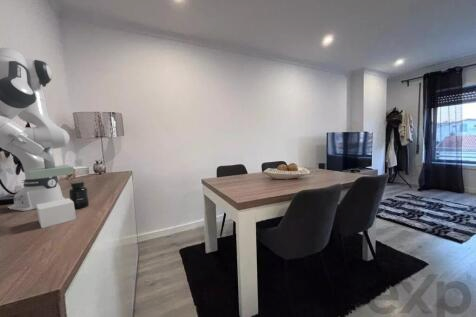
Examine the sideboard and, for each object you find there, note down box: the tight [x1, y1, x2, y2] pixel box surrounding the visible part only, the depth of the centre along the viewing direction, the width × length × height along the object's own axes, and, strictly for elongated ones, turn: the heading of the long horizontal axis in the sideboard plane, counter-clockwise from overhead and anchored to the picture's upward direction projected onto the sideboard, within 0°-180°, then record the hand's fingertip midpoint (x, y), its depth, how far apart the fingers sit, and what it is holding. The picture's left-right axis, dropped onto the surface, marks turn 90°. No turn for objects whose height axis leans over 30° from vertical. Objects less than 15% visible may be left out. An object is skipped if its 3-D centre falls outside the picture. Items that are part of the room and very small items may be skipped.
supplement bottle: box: [68, 181, 90, 210], centre depth 96 cm, size 7×7×12 cm
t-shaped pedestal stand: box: [27, 142, 75, 179], centre depth 78 cm, size 12×12×13 cm
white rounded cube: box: [36, 197, 77, 229], centre depth 80 cm, size 10×10×7 cm
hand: (51, 159), depth 79 cm, fingers closed on t-shaped pedestal stand, 3 cm apart
